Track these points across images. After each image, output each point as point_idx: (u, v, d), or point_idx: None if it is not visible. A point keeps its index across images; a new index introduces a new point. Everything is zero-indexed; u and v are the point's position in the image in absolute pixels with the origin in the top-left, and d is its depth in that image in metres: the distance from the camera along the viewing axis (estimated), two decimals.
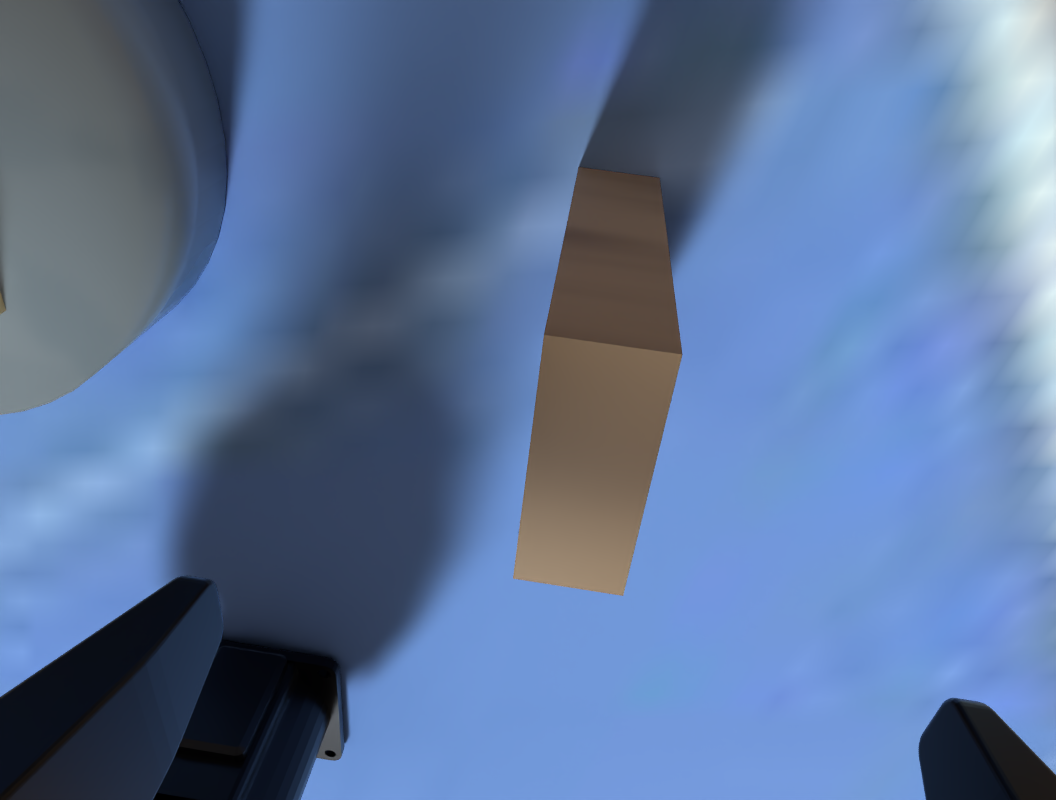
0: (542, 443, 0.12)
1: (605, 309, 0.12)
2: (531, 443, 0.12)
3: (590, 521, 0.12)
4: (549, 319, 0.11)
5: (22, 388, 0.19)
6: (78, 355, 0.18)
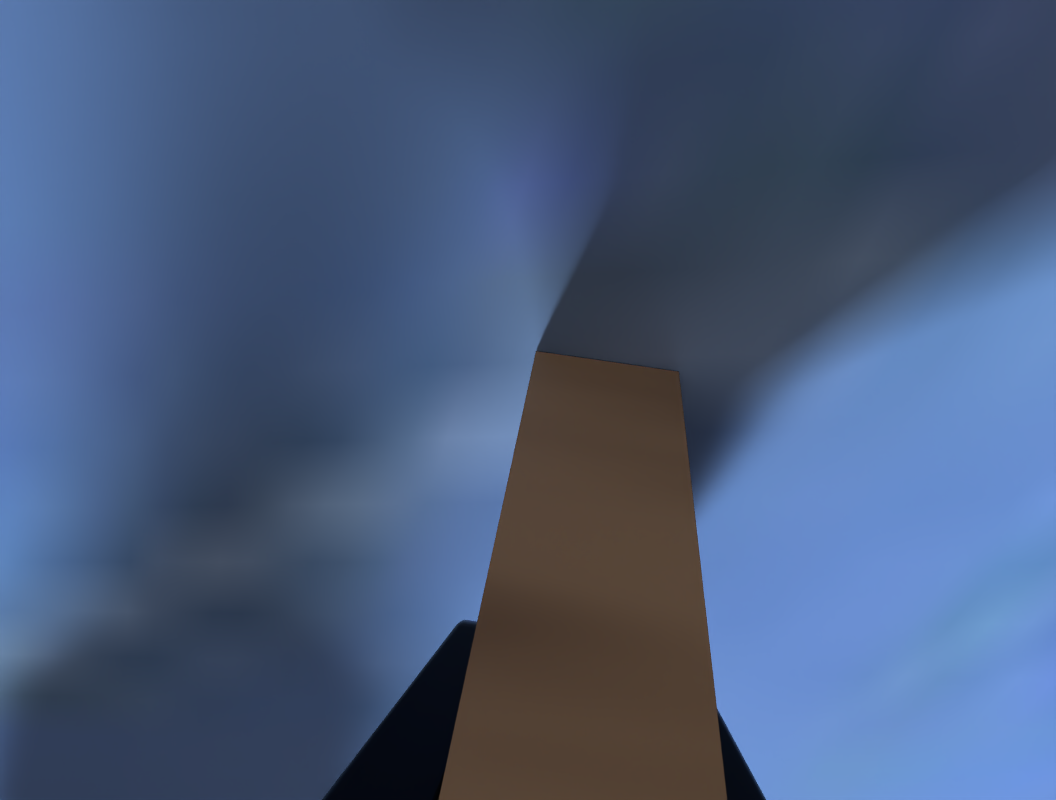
0: None
1: None
2: None
3: None
4: None
5: None
6: None
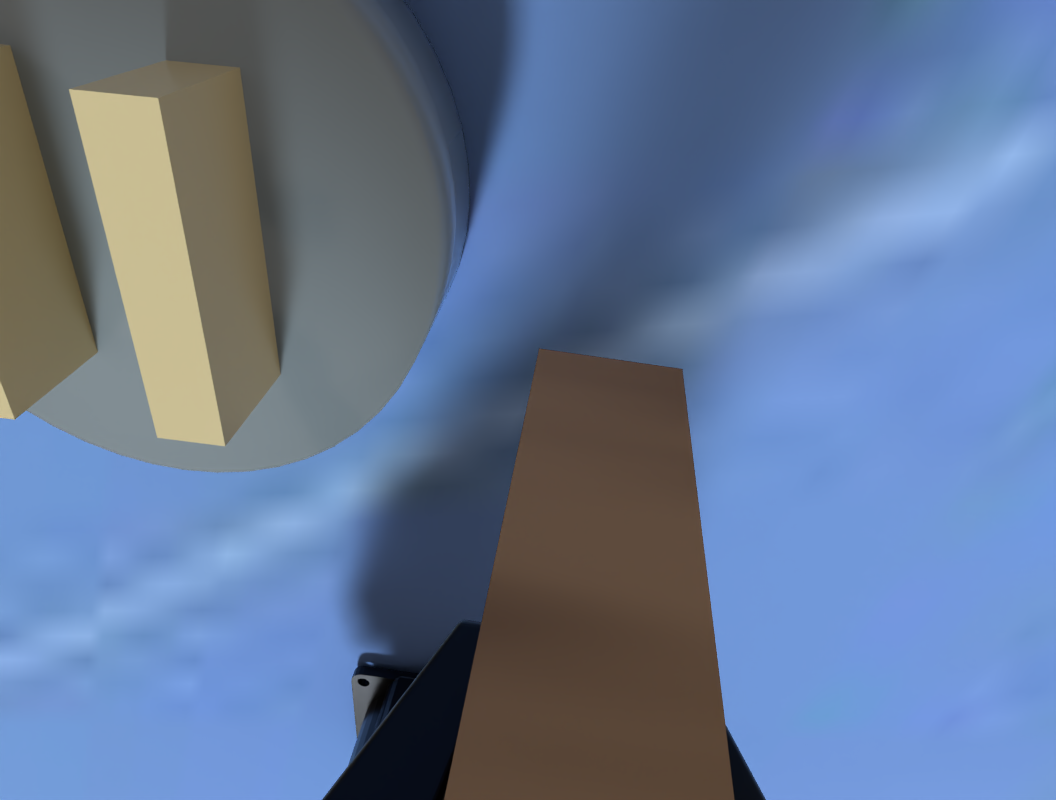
0: None
1: None
2: None
3: None
4: None
5: (281, 446, 0.19)
6: (343, 414, 0.19)
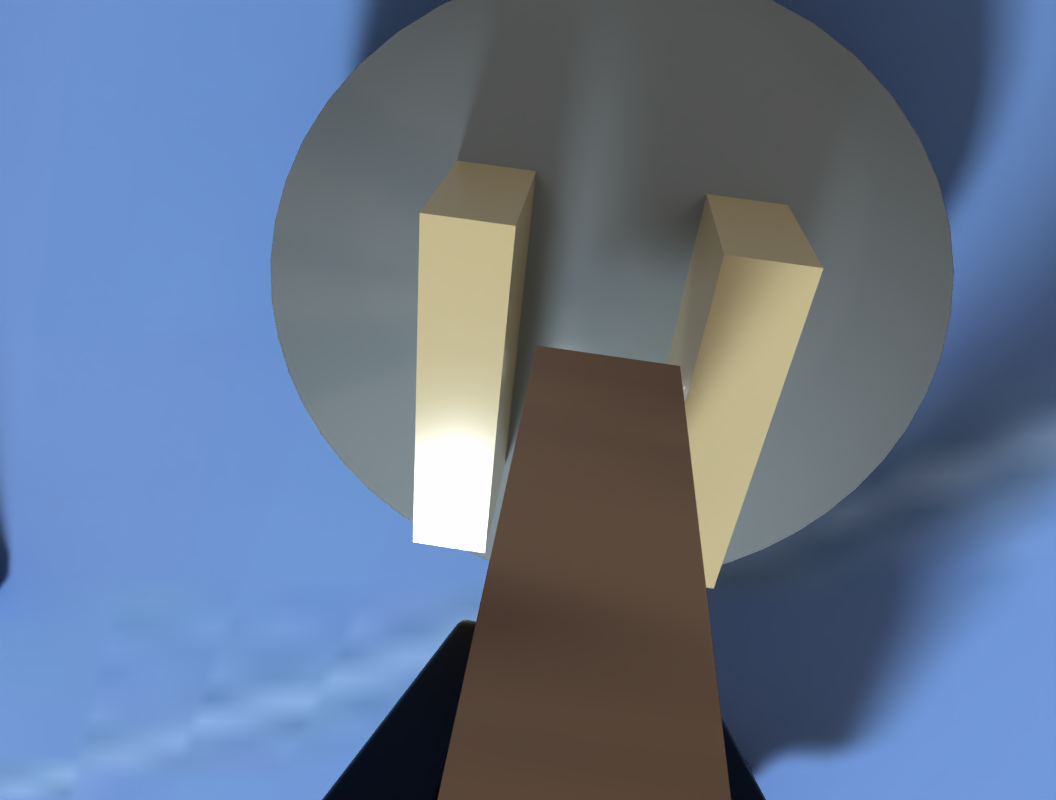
0: None
1: None
2: None
3: None
4: None
5: None
6: (755, 533, 0.18)
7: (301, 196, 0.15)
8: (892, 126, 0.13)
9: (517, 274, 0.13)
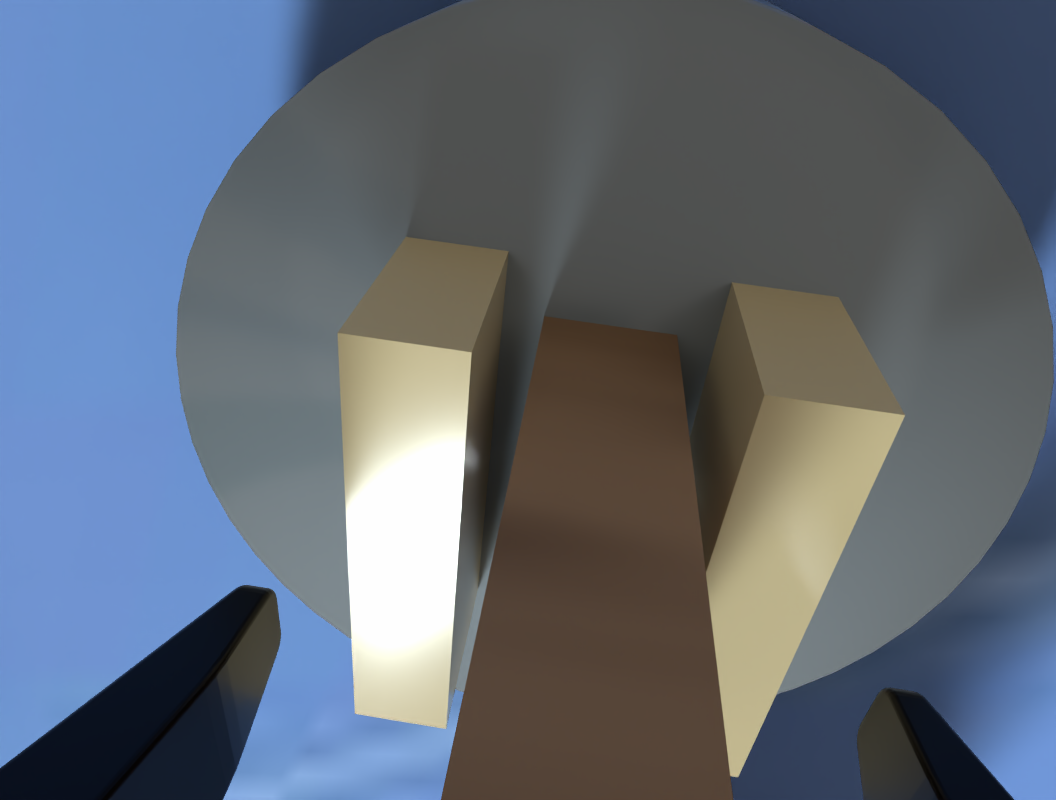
0: None
1: None
2: None
3: None
4: None
5: None
6: None
7: (209, 278, 0.11)
8: (984, 200, 0.10)
9: (481, 394, 0.10)
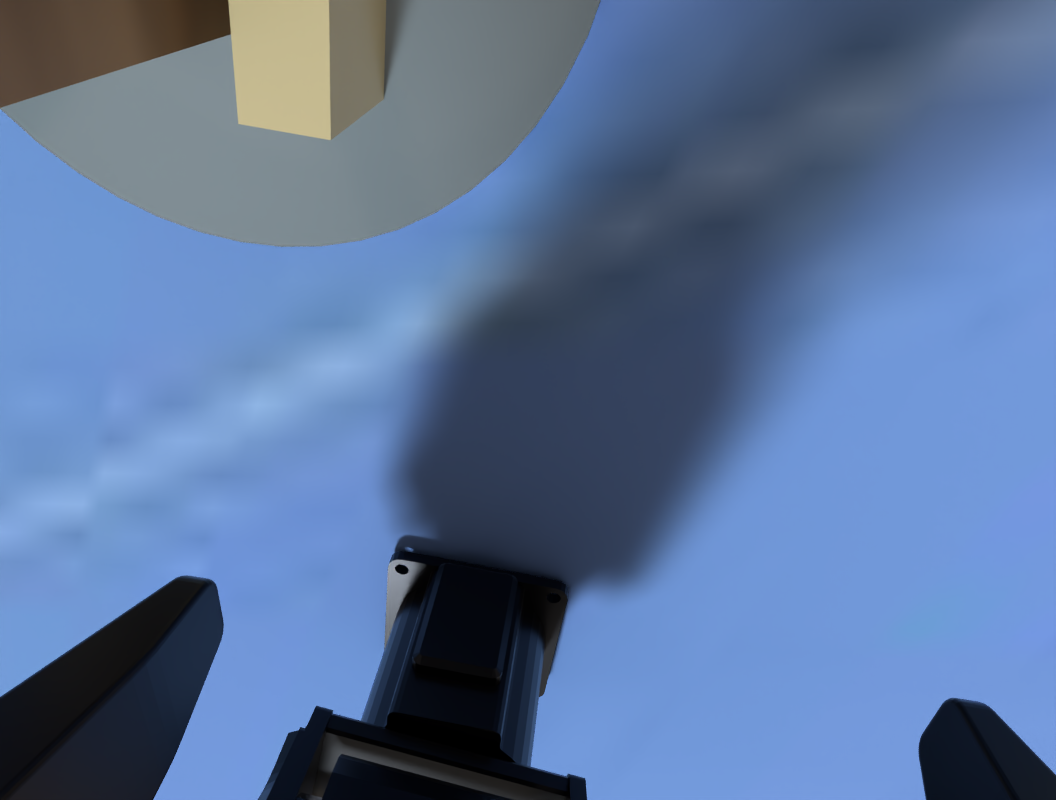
0: None
1: None
2: None
3: None
4: None
5: (369, 209, 0.15)
6: (458, 163, 0.15)
7: None
8: None
9: None
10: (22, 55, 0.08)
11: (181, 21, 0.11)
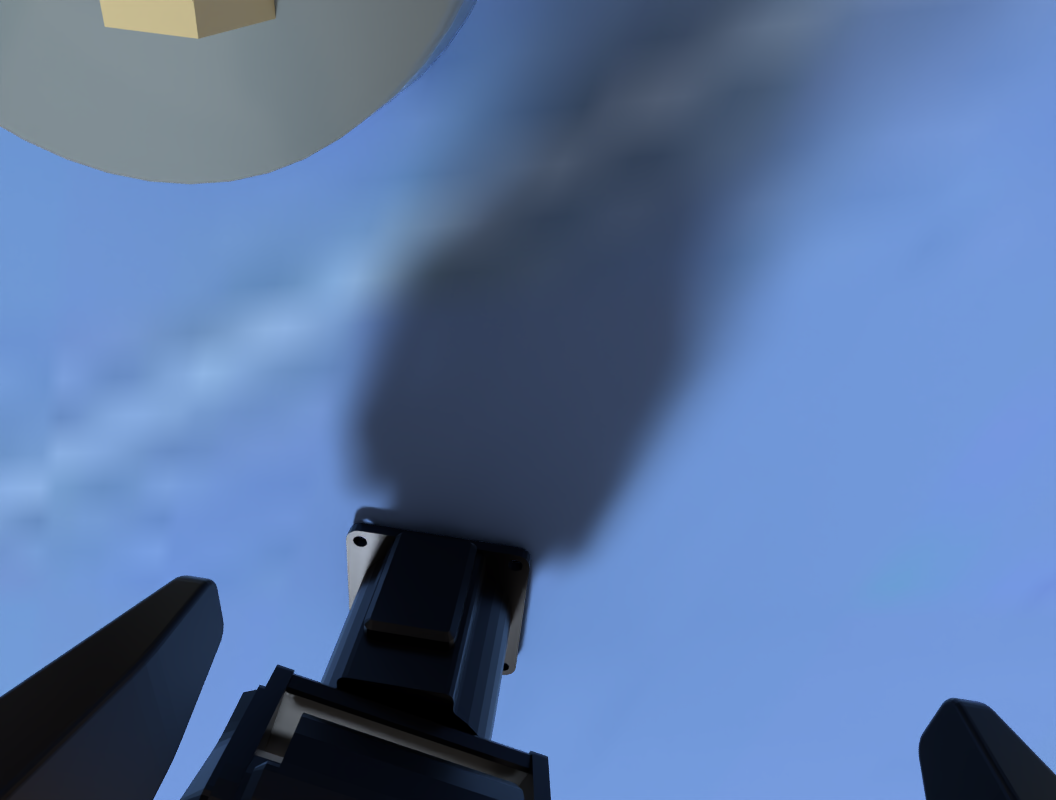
0: None
1: None
2: None
3: None
4: None
5: (273, 139, 0.15)
6: (356, 84, 0.14)
7: None
8: None
9: None
10: None
11: None
